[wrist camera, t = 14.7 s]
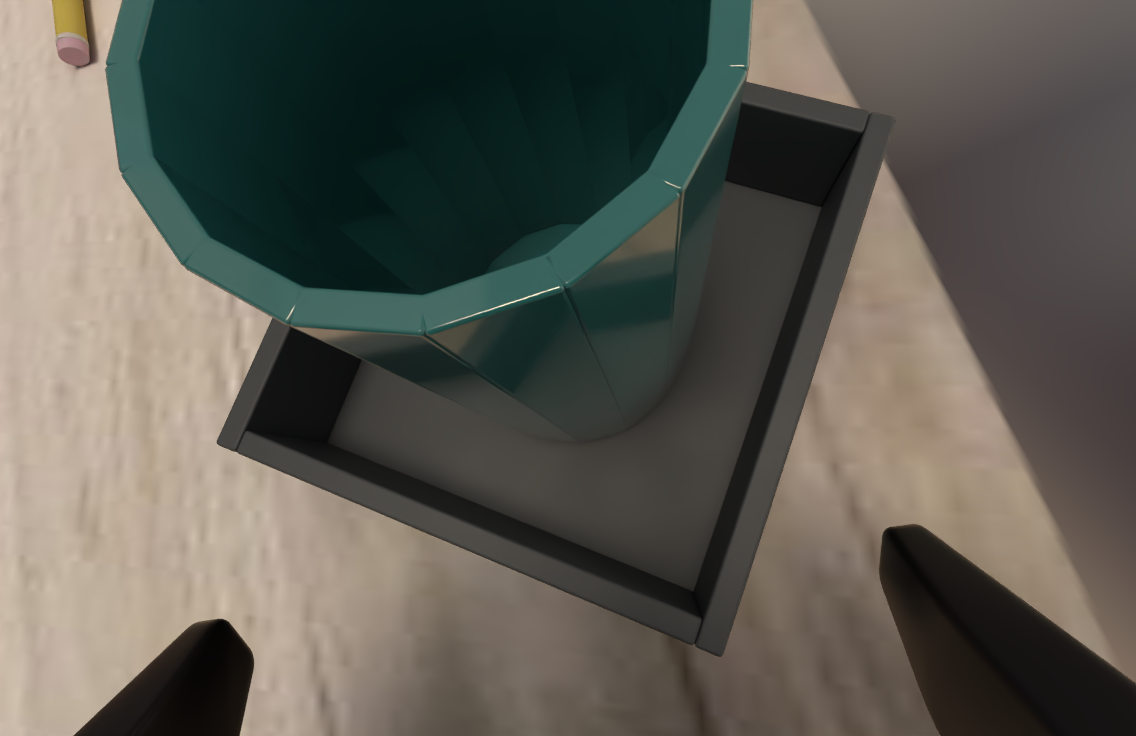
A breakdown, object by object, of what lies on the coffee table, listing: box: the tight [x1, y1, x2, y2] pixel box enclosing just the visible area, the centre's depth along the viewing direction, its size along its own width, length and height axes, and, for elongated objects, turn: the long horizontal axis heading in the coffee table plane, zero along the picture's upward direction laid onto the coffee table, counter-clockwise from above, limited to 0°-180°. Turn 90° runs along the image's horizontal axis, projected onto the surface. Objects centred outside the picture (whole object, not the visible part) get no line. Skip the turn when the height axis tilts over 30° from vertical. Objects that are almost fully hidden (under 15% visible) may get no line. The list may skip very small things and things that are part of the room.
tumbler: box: [105, 0, 753, 443], centre depth 13 cm, size 7×7×13 cm
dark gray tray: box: [217, 82, 895, 657], centre depth 18 cm, size 13×13×5 cm
